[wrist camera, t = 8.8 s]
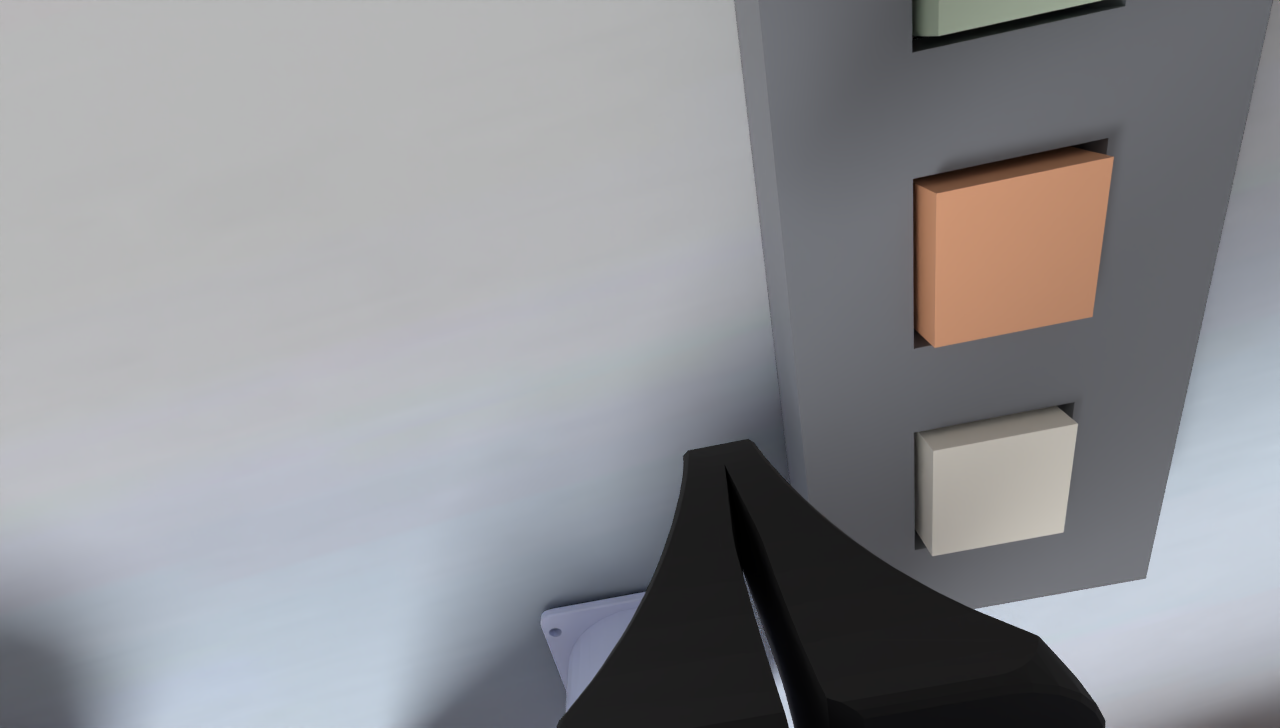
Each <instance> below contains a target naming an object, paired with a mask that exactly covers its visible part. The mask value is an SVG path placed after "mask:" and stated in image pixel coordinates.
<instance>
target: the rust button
mask: <svg viewBox="0 0 1280 728" xmlns="http://www.w3.org/2000/svg"><path fill="white" fill-rule="evenodd" d="M1113 160H1114V157H1113V156H1109V155H1105V154H1100V153H1096V152H1092V151H1088V150H1084V149H1080V148H1075V147H1071V146H1067V147H1062V148H1058V149H1053V150H1048V151H1043V152H1039V153H1034V154H1029V155H1024V156H1019V157H1015V158H1010V159H1005V160H1000V161H996V162H991V163H986V164H981V165H976V166H972V167H967V168H962V169H957V170H953V171H948V172H943V173H938V174H934V175H929V176H924V177H919V178H914V179H913V307H914V329H915V330H916V331H917V332H918V333H919V334H920V335H922V336H923V337H924V338H925V339H926V340H927V341H928V342H929V343H930V344H931V345H932V346H933V347H934V348H937V347H942V346H947V345H952V344H957V343H962V342H967V341H972V340H977V339H982V338H988V337H993V336H998V335H1003V334H1008V333H1013V332H1018V331H1023V330H1028V329H1033V328H1038V327H1043V326H1048V325H1054V324H1059V323H1064V322H1069V321H1074V320H1079V319H1084V318H1089V317H1093V309H1094V302H1095V294H1096V287H1097V280H1098V272H1099V265H1100V257H1101V250H1102V242H1103V235H1104V227H1105V220H1106V212H1107V205H1108V197H1109V190H1110V182H1111V175H1112V168H1113Z"/></svg>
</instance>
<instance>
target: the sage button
mask: <svg viewBox="0 0 1280 728" xmlns="http://www.w3.org/2000/svg"><path fill="white" fill-rule="evenodd" d="M1096 1H1101V0H912V36H942V35H946V34H951V33H955V32H960V31H964V30H969V29H973V28H978V27H983V26H987V25H992V24H996V23H1001V22H1005V21H1010V20H1014V19H1019V18H1024V17H1028V16H1033V15H1037V14H1042V13H1046V12H1051V11H1055V10H1060V9H1065V8H1069V7H1074V6H1078V5H1083V4H1087V3H1092V2H1096Z"/></svg>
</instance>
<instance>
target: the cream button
mask: <svg viewBox="0 0 1280 728" xmlns="http://www.w3.org/2000/svg"><path fill="white" fill-rule="evenodd" d="M1077 428H1078V423H1077V422H1075V421H1074V420H1073V419H1072V418H1071V417H1069V416H1068V415H1067V414H1066V413H1065V412H1063V411H1062V410H1061V409H1060V408H1058V407H1057V406H1052V407H1046V408H1041V409H1036V410H1031V411H1025V412H1020V413H1015V414H1010V415H1004V416H999V417H994V418H989V419H984V420H978V421H973V422H968V423H963V424H957V425H952V426H947V427H942V428H936V429H931V430H926V431H921V432H915V433H914V517H915V530H916V531H917V533H918V535H919V536H920V538H921V539H922V541H923V543H924V544H925V546H926V547H927V549H928V551H929V552H930V554H931V555H932V556H937V555H942V554H948V553H953V552H959V551H964V550H970V549H975V548H981V547H986V546H992V545H997V544H1003V543H1008V542H1014V541H1019V540H1025V539H1030V538H1036V537H1041V536H1047V535H1052V534H1058V533H1063V532H1064V526H1065V518H1066V511H1067V503H1068V496H1069V488H1070V481H1071V473H1072V466H1073V458H1074V451H1075V443H1076V436H1077Z"/></svg>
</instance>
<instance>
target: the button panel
mask: <svg viewBox="0 0 1280 728" xmlns="http://www.w3.org/2000/svg"><path fill="white" fill-rule="evenodd" d="M734 2H735V11H736V20H737V28H738V37H739V46H740V54H741V63H742V72H743V80H744V89H745V98H746V106H747V115H748V124H749V132H750V141H751V150H752V158H753V167H754V176H755V184H756V193H757V202H758V210H759V219H760V228H761V236H762V245H763V254H764V262H765V271H766V280H767V288H768V297H769V306H770V314H771V323H772V332H773V340H774V349H775V358H776V366H777V375H778V384H779V392H780V401H781V410H782V418H783V427H784V436H785V444H786V453H787V462H788V470H789V479H790V485H791V486H792V487H793V488H794V489H795V490H796V491H797V492H798V493H799V494H800V495H801V496H802V497H803V498H804V499H805V500H806V501H807V502H809V503H810V504H811V505H812V506H813V507H814V508H815V509H816V510H817V511H819V512H820V513H821V514H822V515H823V516H824V517H826V518H827V519H828V520H829V521H830V522H832V523H833V524H834V525H835V526H836V527H838V528H839V529H840V530H841V531H843V532H844V533H845V534H847V535H848V536H849V537H850V538H852V539H853V540H854V541H856V542H857V543H859V544H860V545H861V546H863V547H864V548H866V549H867V550H869V551H870V552H871V553H873V554H874V555H876V556H877V557H879V558H880V559H882V560H883V561H885V562H887V563H888V564H890V565H891V566H893V567H894V568H896V569H898V570H899V571H901V572H903V573H905V574H906V575H908V576H910V577H912V578H913V579H915V580H917V581H919V582H920V583H922V584H924V585H926V586H928V587H929V588H931V589H933V590H935V591H937V592H938V593H941V594H943V595H945V596H947V597H949V598H951V599H953V600H955V601H957V602H959V603H961V604H963V605H965V606H967V607H969V608H972V609H976V608H982V607H988V606H993V605H999V604H1004V603H1010V602H1016V601H1021V600H1027V599H1033V598H1038V597H1044V596H1049V595H1055V594H1061V593H1066V592H1072V591H1078V590H1083V589H1089V588H1095V587H1100V586H1106V585H1111V584H1117V583H1123V582H1128V581H1134V580H1140V579H1145V578H1146V575H1147V570H1148V566H1149V561H1150V557H1151V552H1152V548H1153V543H1154V539H1155V534H1156V529H1157V525H1158V520H1159V516H1160V511H1161V507H1162V502H1163V498H1164V493H1165V489H1166V484H1167V479H1168V475H1169V470H1170V466H1171V461H1172V457H1173V452H1174V448H1175V443H1176V438H1177V434H1178V429H1179V425H1180V420H1181V416H1182V411H1183V407H1184V402H1185V397H1186V393H1187V388H1188V384H1189V379H1190V375H1191V370H1192V366H1193V361H1194V357H1195V352H1196V347H1197V343H1198V338H1199V334H1200V329H1201V325H1202V320H1203V316H1204V311H1205V306H1206V302H1207V297H1208V293H1209V288H1210V284H1211V279H1212V275H1213V270H1214V266H1215V261H1216V256H1217V252H1218V247H1219V243H1220V238H1221V234H1222V229H1223V225H1224V220H1225V215H1226V211H1227V206H1228V202H1229V197H1230V193H1231V188H1232V184H1233V179H1234V174H1235V170H1236V165H1237V161H1238V156H1239V152H1240V147H1241V143H1242V138H1243V134H1244V129H1245V124H1246V120H1247V115H1248V111H1249V106H1250V102H1251V97H1252V93H1253V88H1254V83H1255V79H1256V74H1257V70H1258V65H1259V61H1260V56H1261V52H1262V47H1263V42H1264V38H1265V33H1266V29H1267V24H1268V20H1269V15H1270V11H1271V6H1272V2H1273V0H1101V1H1096V2H1092V3H1087V4H1083V5H1078V6H1074V7H1069V8H1065V9H1060V10H1055V11H1051V12H1046V13H1042V14H1037V15H1033V16H1028V17H1024V18H1019V19H1014V20H1010V21H1005V22H1001V23H996V24H992V25H987V26H983V27H978V28H973V29H969V30H964V31H960V32H955V33H951V34H946V35H942V36H929V37H924V38H920V39H915V40H912V0H734ZM1067 146H1071V147H1075V148H1080V149H1084V150H1088V151H1092V152H1096V153H1100V154H1105V155H1109V156H1113V157H1114V160H1113V168H1112V175H1111V182H1110V190H1109V197H1108V205H1107V212H1106V220H1105V227H1104V235H1103V242H1102V250H1101V257H1100V265H1099V272H1098V280H1097V287H1096V294H1095V302H1094V309H1093V317H1089V318H1084V319H1079V320H1074V321H1069V322H1064V323H1059V324H1054V325H1048V326H1043V327H1038V328H1033V329H1028V330H1023V331H1018V332H1013V333H1008V334H1003V335H998V336H993V337H988V338H982V339H977V340H972V341H967V342H962V343H957V344H952V345H947V346H942V347H937V348H934V347H933V346H932V345H931V344H930V343H929V342H928V341H927V340H926V339H925V338H924V337H923V336H922V335H920V334H919V333H918V332H917V331H916V330H915V329H914V307H913V179H914V178H919V177H924V176H929V175H934V174H938V173H943V172H948V171H953V170H957V169H962V168H967V167H972V166H976V165H981V164H986V163H991V162H996V161H1000V160H1005V159H1010V158H1015V157H1019V156H1024V155H1029V154H1034V153H1039V152H1043V151H1048V150H1053V149H1058V148H1062V147H1067ZM1052 406H1057V407H1058V408H1060V409H1061V410H1062V411H1063V412H1065V413H1066V414H1067V415H1068V416H1069V417H1071V418H1072V419H1073V420H1074V421H1075V422H1077V423H1078V428H1077V436H1076V443H1075V451H1074V458H1073V466H1072V473H1071V481H1070V488H1069V496H1068V503H1067V511H1066V518H1065V526H1064V532H1063V533H1058V534H1052V535H1047V536H1041V537H1036V538H1030V539H1025V540H1019V541H1014V542H1008V543H1003V544H997V545H992V546H986V547H981V548H975V549H970V550H964V551H959V552H953V553H948V554H942V555H937V556H932V555H931V554H930V552H929V551H928V549H927V547H926V546H925V544H924V543H923V541H922V539H921V538H920V536H919V535H918V533H917V531H916V530H915V517H914V433H915V432H921V431H926V430H931V429H936V428H942V427H947V426H952V425H957V424H963V423H968V422H973V421H978V420H984V419H989V418H994V417H999V416H1004V415H1010V414H1015V413H1020V412H1025V411H1031V410H1036V409H1041V408H1046V407H1052Z"/></svg>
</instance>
